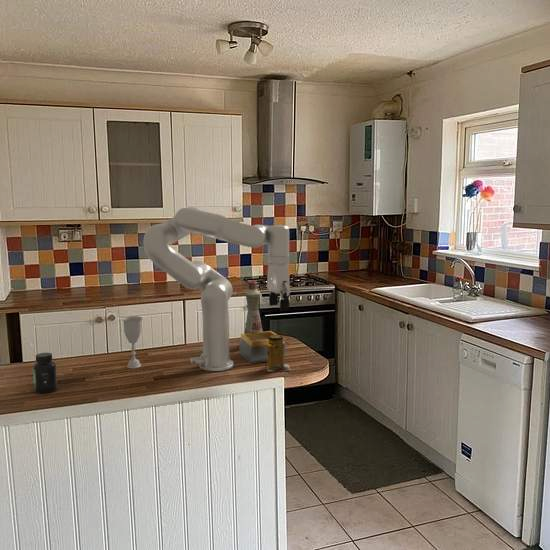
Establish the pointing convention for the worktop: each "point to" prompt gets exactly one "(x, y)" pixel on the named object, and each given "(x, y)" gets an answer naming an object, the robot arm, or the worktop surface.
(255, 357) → the gold-rimmed square tray
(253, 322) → the bottle
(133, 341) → the chalice
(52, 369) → the supplement bottle
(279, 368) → the condiment
